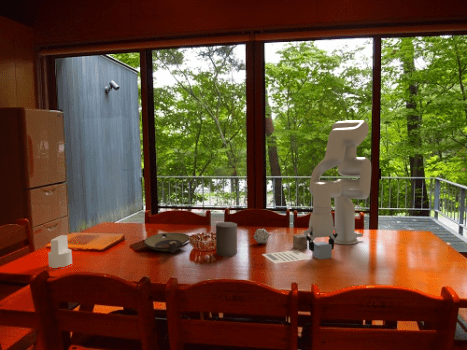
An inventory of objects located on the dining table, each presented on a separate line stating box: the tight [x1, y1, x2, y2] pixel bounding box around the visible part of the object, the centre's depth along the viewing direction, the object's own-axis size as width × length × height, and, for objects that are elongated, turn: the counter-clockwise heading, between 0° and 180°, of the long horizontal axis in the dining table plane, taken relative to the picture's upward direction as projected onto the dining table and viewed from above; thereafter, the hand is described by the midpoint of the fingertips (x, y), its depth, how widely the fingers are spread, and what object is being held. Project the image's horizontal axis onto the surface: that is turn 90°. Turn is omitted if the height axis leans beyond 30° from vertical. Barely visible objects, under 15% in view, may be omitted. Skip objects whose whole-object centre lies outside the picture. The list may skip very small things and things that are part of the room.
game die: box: [251, 227, 272, 246], centre depth 190 cm, size 9×8×10 cm
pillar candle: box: [215, 221, 238, 257], centre depth 175 cm, size 10×10×15 cm
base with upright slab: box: [47, 234, 73, 268], centre depth 162 cm, size 9×9×12 cm
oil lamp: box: [143, 232, 191, 253], centre depth 182 cm, size 22×30×8 cm
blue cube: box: [311, 241, 333, 260], centre depth 167 cm, size 6×6×6 cm
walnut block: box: [292, 233, 309, 251], centre depth 182 cm, size 5×5×6 cm
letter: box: [261, 249, 313, 265], centre depth 169 cm, size 18×14×1 cm
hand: (321, 249), depth 166 cm, fingers open, 9 cm apart
